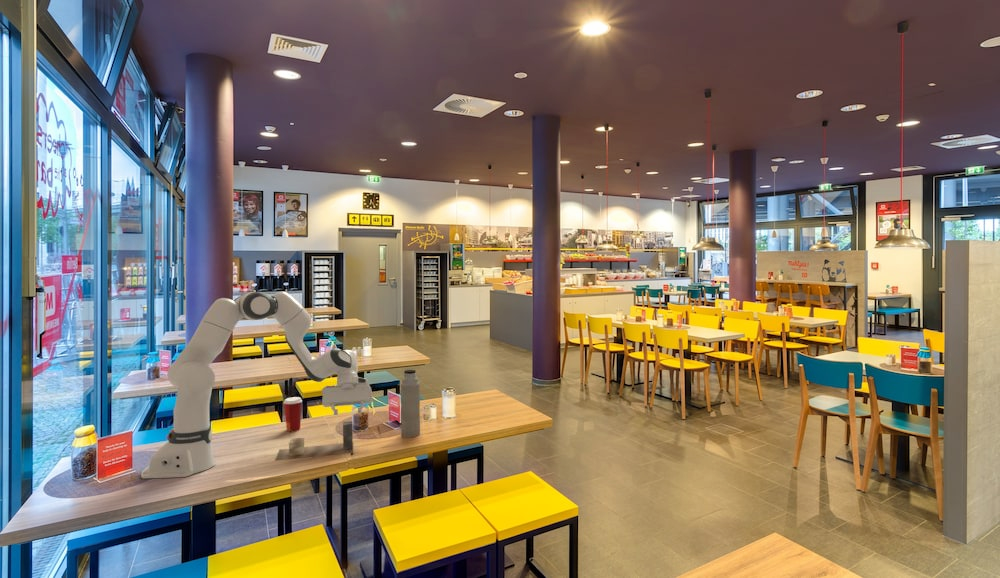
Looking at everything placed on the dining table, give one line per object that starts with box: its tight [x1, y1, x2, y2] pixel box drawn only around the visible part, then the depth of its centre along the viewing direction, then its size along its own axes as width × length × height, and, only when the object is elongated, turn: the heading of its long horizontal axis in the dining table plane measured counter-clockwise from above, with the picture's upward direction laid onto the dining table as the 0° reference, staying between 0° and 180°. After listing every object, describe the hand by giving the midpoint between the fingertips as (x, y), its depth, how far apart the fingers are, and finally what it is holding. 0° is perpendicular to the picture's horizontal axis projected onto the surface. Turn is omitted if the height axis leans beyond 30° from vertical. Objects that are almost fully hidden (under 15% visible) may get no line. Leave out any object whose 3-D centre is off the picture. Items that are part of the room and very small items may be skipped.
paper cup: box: [283, 396, 303, 432], centre depth 224 cm, size 8×8×14 cm
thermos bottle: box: [400, 369, 421, 438], centre depth 217 cm, size 8×8×28 cm
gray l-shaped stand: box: [274, 421, 354, 461], centre depth 195 cm, size 28×12×11 cm, turn 106°
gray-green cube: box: [288, 437, 305, 456], centre depth 193 cm, size 5×5×5 cm
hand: (347, 413), depth 206 cm, fingers open, 8 cm apart
